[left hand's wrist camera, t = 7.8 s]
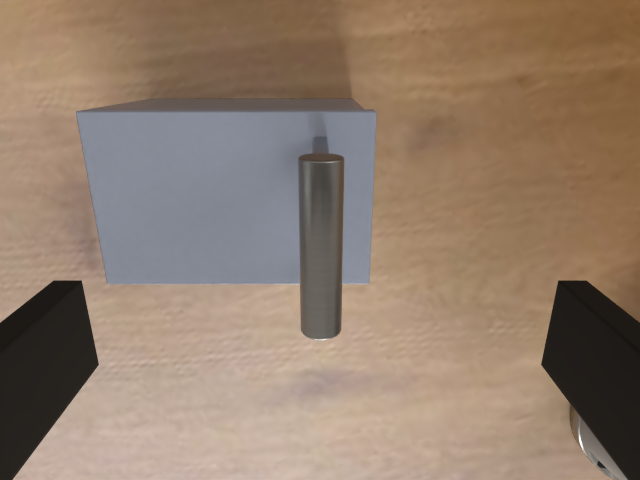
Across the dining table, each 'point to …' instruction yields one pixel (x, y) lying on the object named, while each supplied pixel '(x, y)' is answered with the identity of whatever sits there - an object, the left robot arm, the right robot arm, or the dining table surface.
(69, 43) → the dining table surface
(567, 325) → the left robot arm
